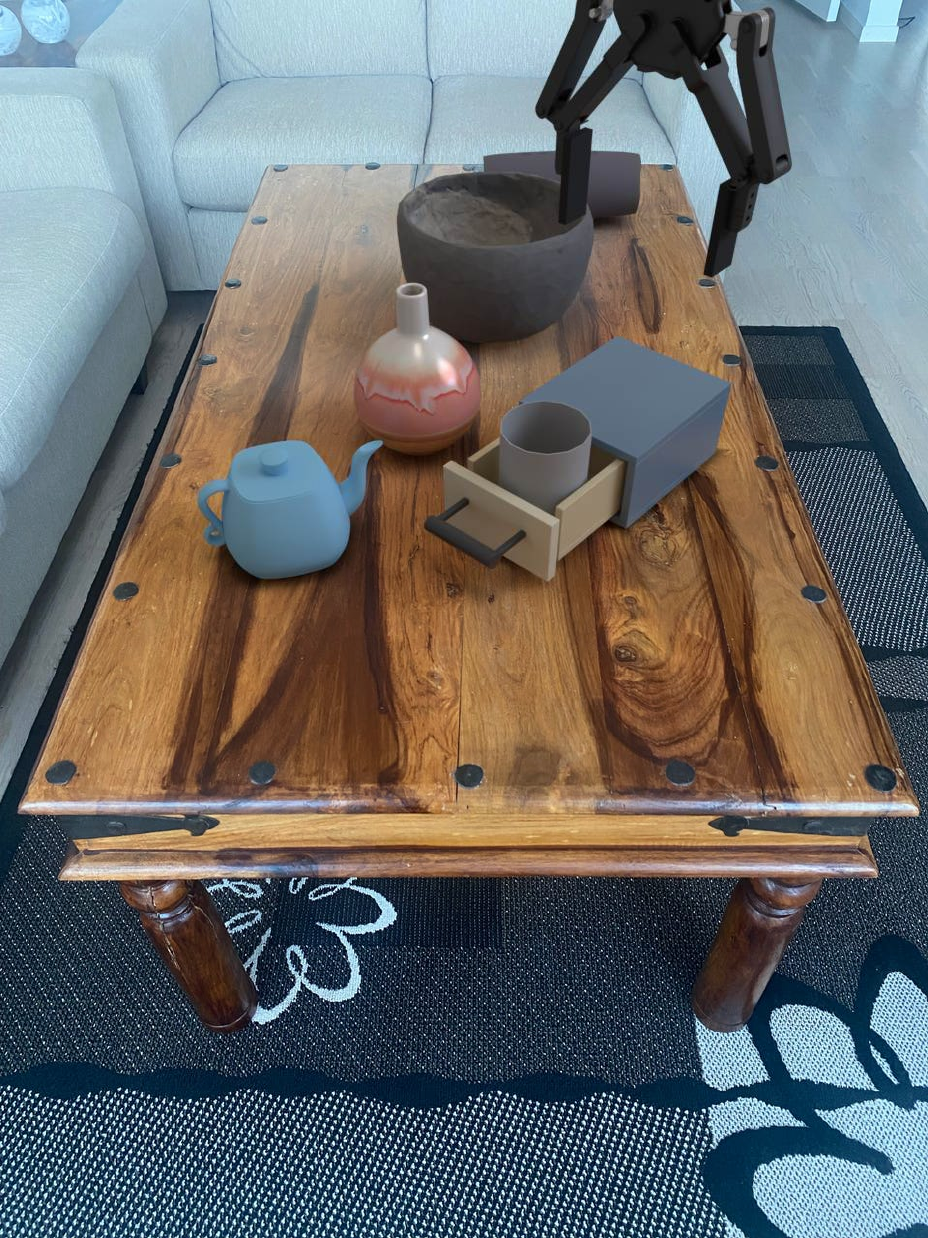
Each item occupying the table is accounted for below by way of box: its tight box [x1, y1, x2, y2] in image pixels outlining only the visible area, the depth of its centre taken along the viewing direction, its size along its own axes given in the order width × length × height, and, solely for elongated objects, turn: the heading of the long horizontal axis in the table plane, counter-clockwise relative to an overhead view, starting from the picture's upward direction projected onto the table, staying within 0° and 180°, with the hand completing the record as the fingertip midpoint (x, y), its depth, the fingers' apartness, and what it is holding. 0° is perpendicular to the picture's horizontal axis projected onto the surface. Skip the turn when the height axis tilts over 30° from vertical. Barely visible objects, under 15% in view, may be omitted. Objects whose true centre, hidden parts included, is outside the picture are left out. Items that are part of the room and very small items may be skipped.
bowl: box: [396, 171, 595, 344], centre depth 115 cm, size 24×24×15 cm
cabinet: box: [518, 335, 732, 530], centre depth 96 cm, size 17×14×9 cm
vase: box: [352, 282, 482, 457], centre depth 96 cm, size 14×14×18 cm
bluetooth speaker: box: [482, 150, 642, 221], centre depth 137 cm, size 23×9×10 cm, turn 90°
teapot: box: [196, 439, 383, 580], centre depth 87 cm, size 13×11×18 cm
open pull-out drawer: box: [423, 436, 628, 583], centre depth 89 cm, size 21×13×7 cm, turn 138°
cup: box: [499, 401, 592, 517], centre depth 87 cm, size 8×8×10 cm
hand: (641, 243), depth 72 cm, fingers open, 13 cm apart
